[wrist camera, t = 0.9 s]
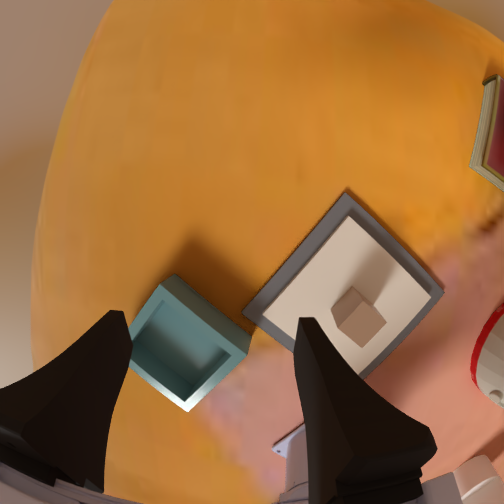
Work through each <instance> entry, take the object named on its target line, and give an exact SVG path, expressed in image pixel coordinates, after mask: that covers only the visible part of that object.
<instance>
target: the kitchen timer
mask: <svg viewBox="0 0 504 504" xmlns="http://www.w3.org/2000/svg"><path fill="white" fill-rule="evenodd" d="M470 370H471V376H472V380H473V382H474V383H475V384H476V386H477V387H478V388H479V389H480V391H481V392H482V393H483V394H485V395H486V396H487V397H489V399H490V400H492V401H493V402H494V403H496V404H497V405H499V406H500V407H502V408H503V409H504V303H503V304H502V305H501V306H500V307H499V308H498V309H497V310H496V311H495V312H494V313H493V314H492V316H491V317H490V318H489V320H488V321H487V323H486V324H485V325H484V327H483V329H482V331H481V333H480V335H479V337H478V339H477V341H476V344H475V347H474V350H473V353H472V358H471V367H470Z"/></svg>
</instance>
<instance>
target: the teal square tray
mask: <svg viewBox="0 0 504 504" xmlns="http://www.w3.org/2000/svg"><path fill="white" fill-rule="evenodd" d="M128 330H129V333H130V336H131V339H132V343H133V350H132V355H131V359H130V363H129V367H130V368H131V369H132V370H134V371H135V372H136V373H137V374H138V375H140V376H141V377H142V378H143V379H144V380H146V381H147V382H148V383H149V384H151V385H152V386H153V387H154V388H156V389H157V390H158V391H160V392H161V393H162V394H163V395H165V396H166V397H167V398H169V399H170V400H171V401H173V402H174V403H175V404H177V405H178V406H180V407H181V408H182V409H184V410H185V411H187V412H188V411H189V410H190V409H192V408H193V407H194V406H195V405H196V404H197V403H198V402H199V401H200V400H201V399H202V398H203V397H205V396H206V395H207V394H208V393H209V392H210V391H211V390H212V389H213V388H214V387H215V386H216V385H217V384H218V383H219V382H220V381H221V380H222V379H223V378H224V377H226V376H227V375H228V374H229V373H230V372H231V371H232V370H233V369H234V368H235V367H236V366H237V365H238V364H239V363H240V362H241V361H242V360H243V359H244V358H245V357H246V356H247V354H248V350H249V346H250V342H251V338H252V336H251V335H249V334H248V333H247V332H246V331H244V330H243V329H242V328H240V327H239V326H238V325H237V324H235V323H234V322H233V321H232V320H230V319H229V318H228V317H227V316H225V315H224V314H223V313H222V312H220V311H219V310H218V309H217V308H215V307H214V306H213V305H212V304H211V303H209V302H208V301H207V300H206V299H205V298H203V297H202V296H201V295H200V294H199V293H197V292H196V291H195V290H194V289H193V288H191V287H190V286H189V285H188V284H187V283H185V282H184V281H183V280H182V279H181V278H180V277H178V276H177V275H176V274H173V275H172V276H171V277H169V278H168V279H166V280H165V281H163V282H162V283H160V284H159V286H158V287H157V288H156V290H155V291H154V292H153V294H152V295H151V297H150V298H149V299H148V301H147V302H146V304H145V305H144V307H143V308H142V309H141V311H140V312H139V314H138V315H137V317H136V318H135V319H134V321H133V322H132V324H131V325H130V327H129V328H128Z"/></svg>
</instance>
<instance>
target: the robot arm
mask: <svg viewBox="0 0 504 504" xmlns="http://www.w3.org/2000/svg"><path fill="white" fill-rule="evenodd" d="M132 350H133V343H132V339H131V336H130V333H129V330H128V326H127V323H126V319H125V316H124V312H123V311H117V310H110V311H109V312H107V313H106V314H105V315H104V316H103V317H102V318H101V319H100V320H99V321H98V322H96V323H95V324H94V325H93V326H92V327H91V328H90V329H89V330H88V331H87V332H86V333H85V334H83V335H82V336H81V337H80V338H79V339H78V340H77V341H76V342H74V343H73V344H72V345H71V346H70V347H68V348H67V349H66V350H65V351H64V352H63V353H61V354H60V355H59V356H58V357H56V358H55V359H54V360H52V361H51V362H49V363H48V364H46V365H45V366H43V367H42V368H40V369H39V370H37V371H35V372H34V373H32V374H30V375H29V376H27V377H25V378H23V379H21V380H19V381H17V382H15V383H13V384H11V385H9V386H6V387H4V388H1V389H0V504H142V503H137V502H133V501H128V500H124V499H120V498H116V497H112V496H108V495H105V494H102V493H104V468H105V457H106V447H107V441H108V434H109V428H110V423H111V418H112V414H113V410H114V407H115V404H116V401H117V398H118V395H119V392H120V390H121V387H122V384H123V381H124V378H125V376H126V373H127V370H128V367H129V363H130V359H131V355H132ZM293 355H294V368H295V376H296V382H297V387H298V392H299V396H300V401H301V406H302V411H303V416H304V422H305V423H304V424H303V425H301V426H300V427H299V428H297V429H296V430H295V431H293V432H292V433H291V434H289V435H288V436H287V437H285V438H284V439H282V440H281V441H280V442H278V443H277V444H275V445H274V446H273V447H272V451H273V452H275V453H277V454H279V455H281V456H282V457H284V458H286V477H285V493H282V494H280V498H279V502H275V503H272V504H463V502H462V499H461V496H460V492H459V489H458V486H457V483H456V480H455V476H454V473H453V472H449V473H447V474H444V475H442V476H439V477H436V478H433V479H431V480H428V481H426V482H424V483H422V484H421V482H420V479H419V478H420V477H422V471H421V467H422V466H423V465H424V464H425V463H427V462H428V461H429V460H430V459H431V458H432V457H433V456H434V455H435V453H436V451H437V446H436V443H435V440H434V437H433V435H432V433H431V431H430V429H429V427H427V426H426V425H424V424H422V423H420V422H418V421H416V420H415V419H413V418H411V417H409V416H408V415H406V414H405V413H403V412H402V411H400V410H398V409H397V408H395V407H394V406H393V405H391V404H390V403H389V402H388V401H386V400H385V399H384V398H382V397H381V396H380V395H379V394H377V393H376V392H375V391H374V390H373V389H372V388H371V387H370V386H369V385H368V384H367V383H365V382H364V381H363V380H362V379H361V378H360V376H359V375H358V374H357V373H356V372H355V371H354V370H353V369H352V368H351V367H350V365H349V364H348V363H347V362H346V361H345V359H344V358H343V357H342V356H341V354H340V353H339V352H338V350H337V349H336V348H335V346H334V345H333V344H332V342H331V341H330V340H329V338H328V337H327V335H326V334H325V332H324V331H323V329H322V328H321V326H320V325H319V323H318V321H317V320H316V319H315V318H314V317H299V320H298V327H297V333H296V339H295V345H294V351H293ZM278 450H280V451H278Z"/></svg>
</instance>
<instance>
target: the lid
mask: <svg viewBox="0 0 504 504" xmlns="http://www.w3.org/2000/svg"><path fill="white" fill-rule="evenodd" d="M430 298H431V297H430V295H429V294H428V293H427V292H426V291H425V290H424V289H423V288H422V287H421V286H420V285H419V284H418V283H417V282H416V281H415V280H414V279H413V278H412V277H411V275H410V274H409V273H408V272H407V271H406V270H405V269H404V268H403V267H402V266H401V265H400V264H399V263H398V262H397V261H396V260H395V259H394V258H393V257H392V256H391V255H390V254H389V253H388V252H387V251H386V250H385V249H384V248H382V247H381V246H380V245H379V244H378V243H377V242H376V241H375V240H374V239H373V238H372V237H371V236H370V235H369V234H368V233H367V232H366V231H365V230H364V229H362V228H361V227H360V226H359V225H358V224H357V223H356V222H355V221H354V220H353V219H352V218H351V217H349V216H346V218H345V219H344V220H343V221H342V222H341V224H340V225H339V226H338V227H337V228H336V230H335V231H334V232H333V233H332V234H331V235H330V237H329V238H328V239H327V240H326V241H325V242H324V244H323V245H322V246H321V247H320V248H319V249H318V251H317V252H316V253H315V254H314V255H313V256H312V258H311V259H310V260H309V261H308V262H307V263H306V264H305V266H304V267H303V268H302V269H301V270H300V271H299V272H298V274H297V275H296V276H295V277H294V278H293V279H292V280H291V281H290V283H289V284H288V285H287V286H286V287H285V288H284V289H283V290H282V291H281V293H280V294H279V295H278V296H277V297H276V298H275V299H274V300H273V301H272V303H271V304H270V305H269V306H268V307H267V308H266V309H265V310H264V311H263V315H264V316H265V317H266V318H267V319H269V320H270V321H271V322H272V323H274V324H275V325H276V326H277V327H279V328H280V329H281V330H283V331H284V332H285V333H286V334H288V335H289V336H290V337H292V338H293V339H294V340H295V339H296V333H297V327H298V320H299V317H314V318H315V319H316V320H317V321H318V323H319V325H320V326H321V328H322V329H323V331H324V332H325V334H326V335H327V337H328V338H329V340H330V341H331V342H332V344H333V345H334V346H335V348H336V349H337V350H338V352H339V353H340V354H341V356H342V357H343V358H344V359H345V361H346V362H347V363H348V364H349V365H350V367H351V368H352V369H353V370H354V371H355V372H356V373H357V374H359V373H360V372H361V371H363V370H364V369H365V368H366V367H367V366H368V365H369V364H370V363H371V362H372V361H373V360H374V359H375V358H376V357H377V356H378V355H379V354H380V353H381V352H382V351H383V350H384V349H385V348H386V347H387V346H388V345H389V344H390V343H391V342H392V341H393V340H394V339H395V338H396V337H397V336H398V334H399V333H400V332H401V331H402V330H403V329H404V328H405V327H406V326H407V325H408V324H409V322H410V321H411V320H412V319H413V318H414V317H415V316H416V315H417V313H418V312H419V311H420V310H421V309H422V308H423V307H424V305H425V304H426V303H427V302H428V301H429V299H430Z"/></svg>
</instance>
